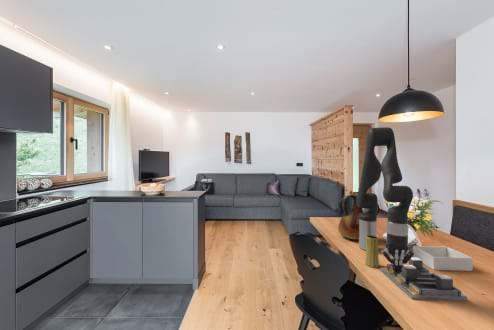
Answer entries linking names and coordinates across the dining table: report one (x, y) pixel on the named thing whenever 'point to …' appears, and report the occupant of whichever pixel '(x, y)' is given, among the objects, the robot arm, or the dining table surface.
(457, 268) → the frame
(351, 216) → the ceramic pitcher
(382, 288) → the dining table surface
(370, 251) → the vase
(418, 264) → the breaker far
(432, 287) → the panel
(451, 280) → the breaker near
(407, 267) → the block
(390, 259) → the robot arm
